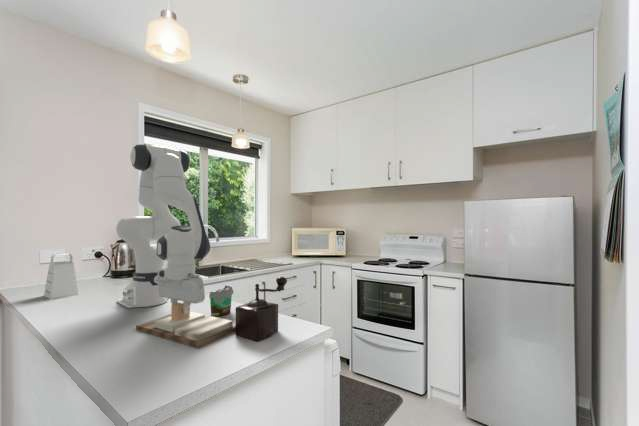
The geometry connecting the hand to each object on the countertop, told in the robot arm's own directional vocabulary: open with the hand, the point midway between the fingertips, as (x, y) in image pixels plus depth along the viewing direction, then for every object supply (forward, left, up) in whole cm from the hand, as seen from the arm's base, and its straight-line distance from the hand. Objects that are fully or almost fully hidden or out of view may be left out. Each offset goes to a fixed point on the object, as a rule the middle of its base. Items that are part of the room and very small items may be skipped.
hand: (180, 312), depth 105 cm
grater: (-90, +1, -6) cm, 90 cm away
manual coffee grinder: (+26, +12, -6) cm, 30 cm away
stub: (0, 0, -4) cm, 4 cm away
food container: (+1, +19, -6) cm, 20 cm away
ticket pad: (+3, 0, -6) cm, 6 cm away
